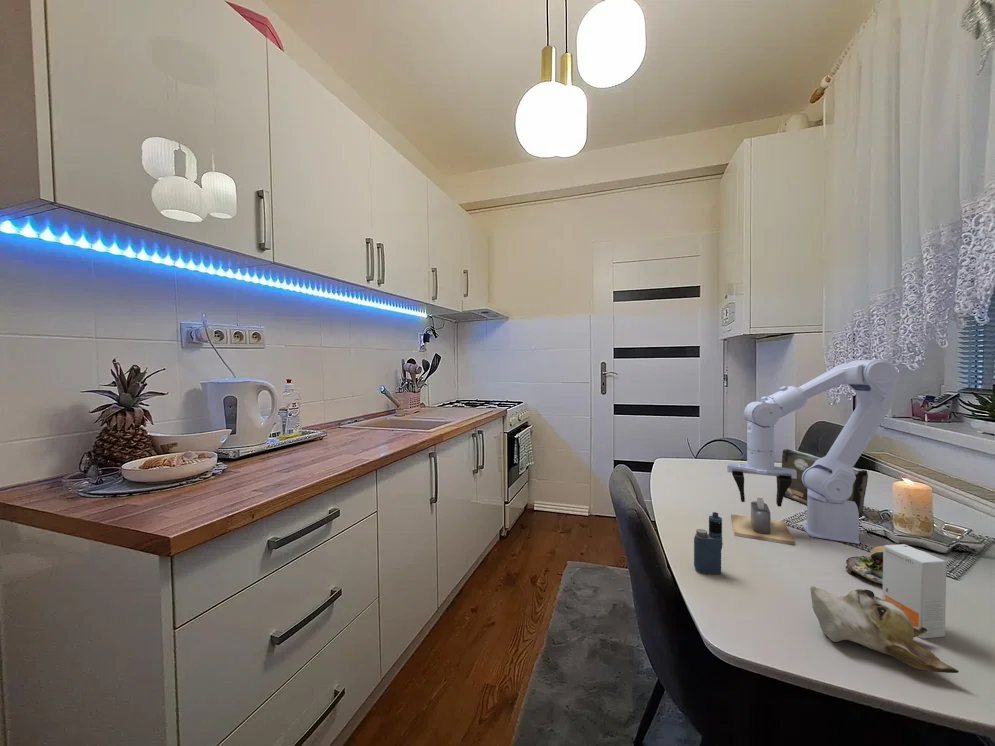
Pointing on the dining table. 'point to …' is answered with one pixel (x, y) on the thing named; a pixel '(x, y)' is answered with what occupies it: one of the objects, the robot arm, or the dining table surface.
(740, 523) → the oak board
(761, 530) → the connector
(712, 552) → the vaping device
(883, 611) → the ceramic sculpture
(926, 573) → the skincare box
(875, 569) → the burger
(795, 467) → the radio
